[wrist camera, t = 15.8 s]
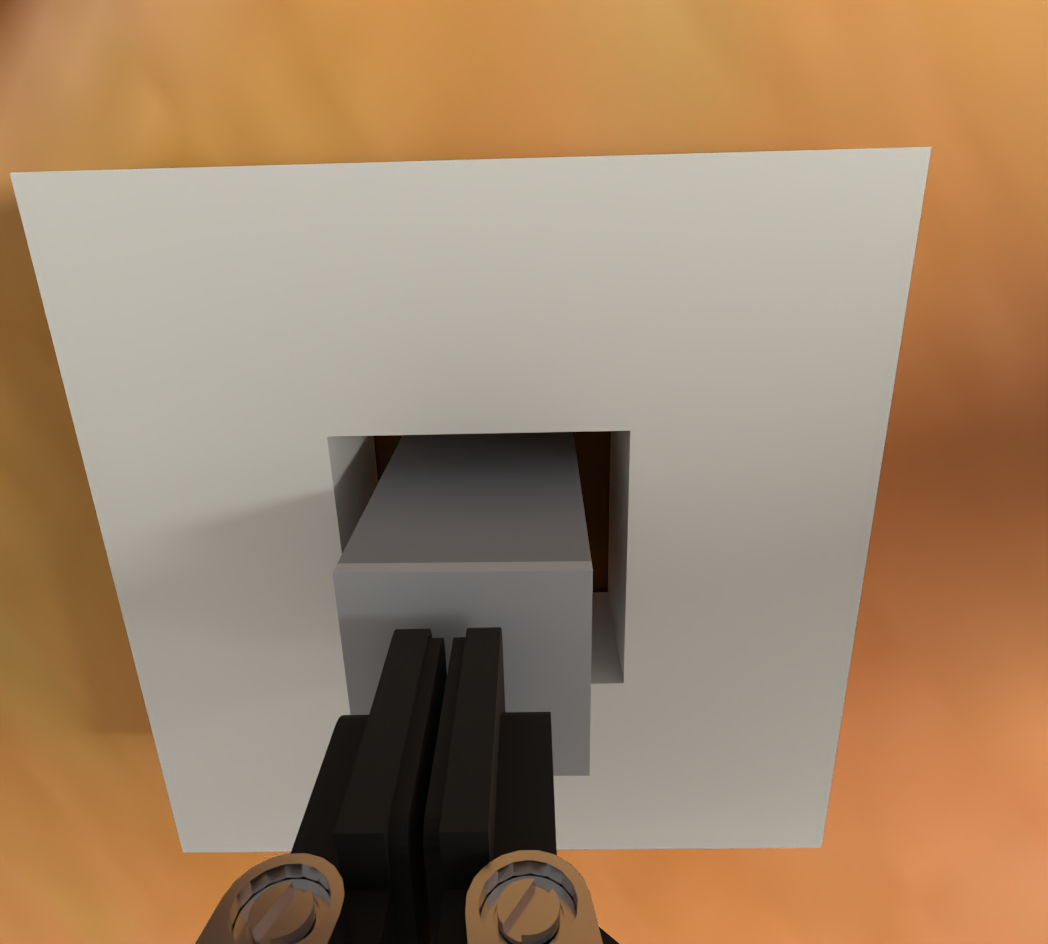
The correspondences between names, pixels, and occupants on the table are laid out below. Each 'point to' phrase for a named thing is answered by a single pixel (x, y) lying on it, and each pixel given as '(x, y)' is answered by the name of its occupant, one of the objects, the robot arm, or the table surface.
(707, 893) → the table surface
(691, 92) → the table surface
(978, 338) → the table surface
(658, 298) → the socket housing
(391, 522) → the plug
